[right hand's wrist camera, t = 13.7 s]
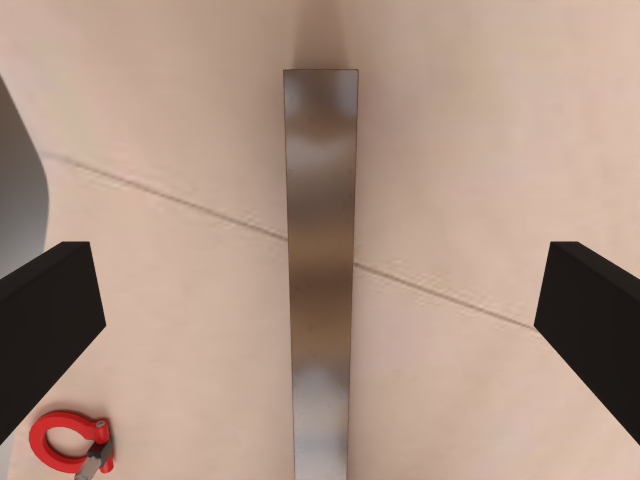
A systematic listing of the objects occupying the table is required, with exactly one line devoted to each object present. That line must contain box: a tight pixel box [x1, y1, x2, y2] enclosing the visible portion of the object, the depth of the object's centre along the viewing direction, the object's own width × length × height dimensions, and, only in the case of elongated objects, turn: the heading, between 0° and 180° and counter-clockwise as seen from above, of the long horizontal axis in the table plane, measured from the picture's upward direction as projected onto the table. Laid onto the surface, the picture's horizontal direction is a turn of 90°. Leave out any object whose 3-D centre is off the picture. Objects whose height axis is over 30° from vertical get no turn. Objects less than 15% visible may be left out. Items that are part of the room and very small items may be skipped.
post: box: [283, 70, 359, 480], centre depth 40 cm, size 50×5×8 cm, turn 0°
